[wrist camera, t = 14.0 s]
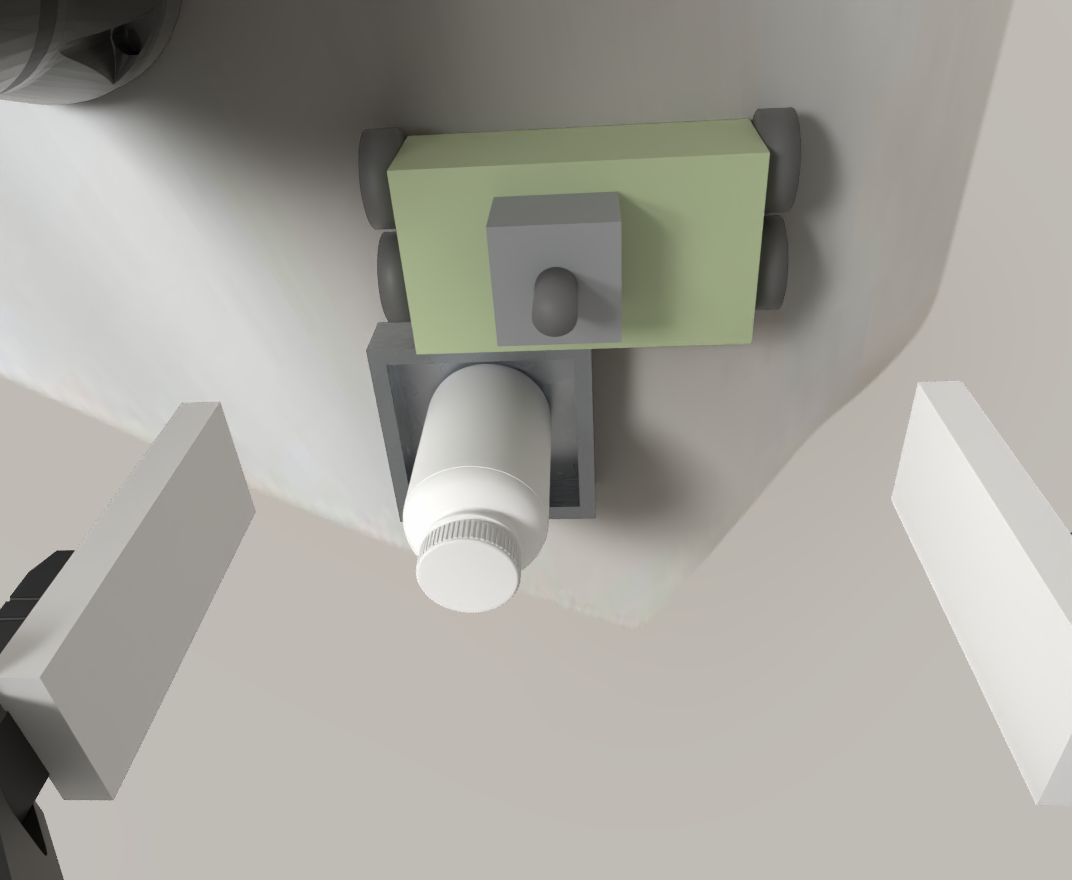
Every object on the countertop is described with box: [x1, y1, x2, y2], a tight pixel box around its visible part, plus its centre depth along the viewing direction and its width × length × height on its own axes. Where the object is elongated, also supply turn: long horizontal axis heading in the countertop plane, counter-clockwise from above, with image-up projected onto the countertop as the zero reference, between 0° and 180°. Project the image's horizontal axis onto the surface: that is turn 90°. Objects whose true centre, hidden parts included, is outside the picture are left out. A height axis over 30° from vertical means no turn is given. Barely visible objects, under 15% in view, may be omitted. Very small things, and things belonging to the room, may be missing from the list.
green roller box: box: [359, 107, 801, 354], centre depth 42 cm, size 21×11×13 cm, turn 93°
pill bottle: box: [403, 364, 552, 613], centre depth 48 cm, size 8×8×15 cm
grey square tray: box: [366, 322, 596, 522], centre depth 53 cm, size 13×13×4 cm
